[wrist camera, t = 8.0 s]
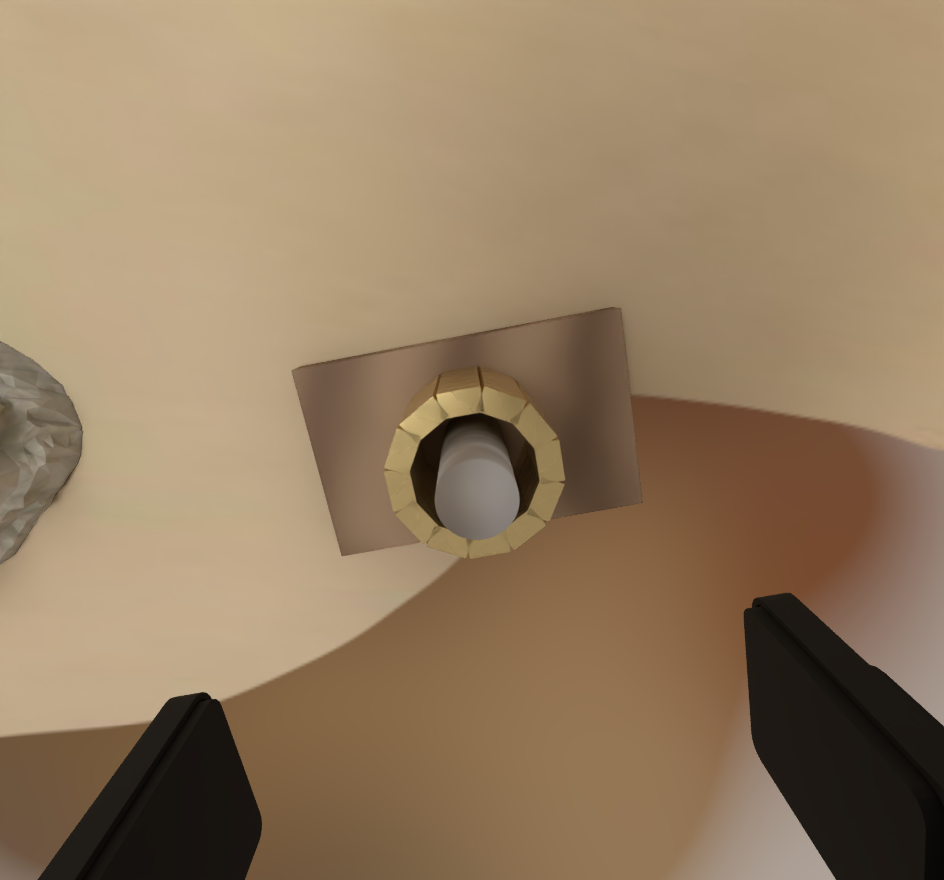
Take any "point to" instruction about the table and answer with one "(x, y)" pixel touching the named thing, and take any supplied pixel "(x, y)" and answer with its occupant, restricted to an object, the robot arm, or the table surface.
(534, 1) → the table surface
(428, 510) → the ring
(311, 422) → the post board
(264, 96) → the table surface
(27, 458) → the ceramic cottage
